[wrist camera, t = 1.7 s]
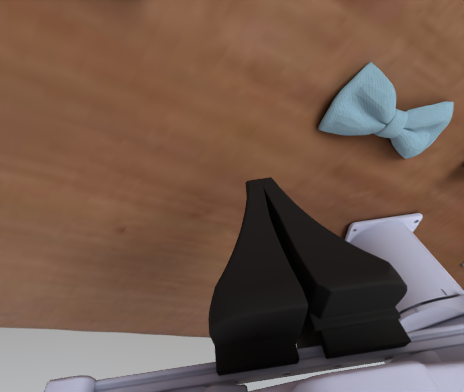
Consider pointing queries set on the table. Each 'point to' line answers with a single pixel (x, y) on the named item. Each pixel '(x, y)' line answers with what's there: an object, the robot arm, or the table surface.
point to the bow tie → (384, 114)
